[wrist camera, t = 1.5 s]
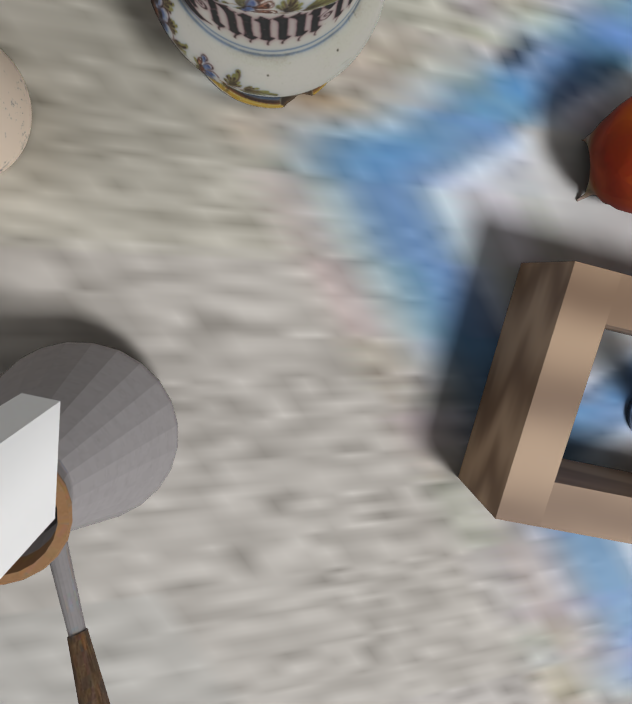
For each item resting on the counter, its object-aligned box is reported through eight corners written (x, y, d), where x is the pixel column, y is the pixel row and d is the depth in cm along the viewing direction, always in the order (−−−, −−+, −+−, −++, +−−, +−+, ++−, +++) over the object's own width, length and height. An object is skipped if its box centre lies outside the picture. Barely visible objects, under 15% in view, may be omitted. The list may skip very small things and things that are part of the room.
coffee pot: (-23, 371, 31) (-289, 462, 16) (145, 310, 31) (34, 345, 17) (113, 639, 35) (-1, 906, 20) (261, 582, 35) (254, 805, 21)
